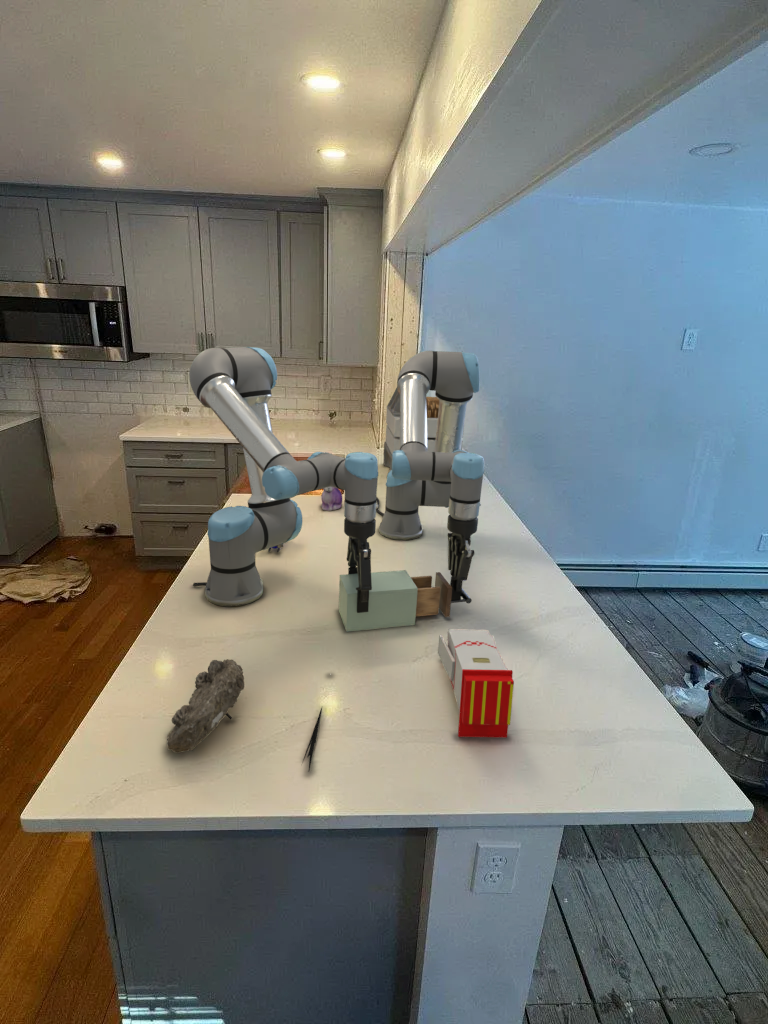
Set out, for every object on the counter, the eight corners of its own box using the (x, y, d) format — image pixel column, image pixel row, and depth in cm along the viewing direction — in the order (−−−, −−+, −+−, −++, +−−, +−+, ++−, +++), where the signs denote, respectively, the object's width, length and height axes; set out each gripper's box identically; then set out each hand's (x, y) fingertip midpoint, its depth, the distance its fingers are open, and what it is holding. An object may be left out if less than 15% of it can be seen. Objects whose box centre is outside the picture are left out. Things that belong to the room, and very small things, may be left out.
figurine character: (283, 559, 179) (290, 536, 192) (282, 538, 176) (289, 516, 189) (262, 558, 179) (270, 535, 192) (261, 537, 175) (269, 515, 189)
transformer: (382, 463, 289) (386, 382, 275) (445, 464, 293) (451, 384, 279) (390, 482, 257) (394, 392, 243) (460, 483, 261) (468, 394, 247)
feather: (331, 679, 122) (336, 673, 122) (307, 777, 96) (313, 769, 95) (324, 675, 122) (329, 669, 121) (298, 772, 95) (304, 764, 95)
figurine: (325, 512, 217) (325, 474, 211) (315, 504, 225) (315, 467, 220) (347, 509, 221) (348, 472, 216) (337, 501, 229) (337, 465, 224)
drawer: (458, 598, 155) (461, 570, 152) (471, 614, 147) (474, 585, 144) (379, 604, 149) (380, 576, 147) (388, 622, 141) (390, 592, 138)
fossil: (192, 660, 117) (244, 628, 112) (224, 691, 120) (276, 661, 115) (142, 746, 98) (202, 712, 93) (182, 779, 101) (242, 748, 96)
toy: (488, 613, 130) (523, 677, 101) (484, 667, 133) (517, 744, 104) (435, 612, 130) (455, 676, 101) (432, 666, 133) (451, 743, 103)
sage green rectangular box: (403, 605, 152) (405, 569, 149) (415, 625, 143) (417, 588, 139) (338, 610, 148) (339, 574, 144) (346, 631, 138) (347, 593, 135)
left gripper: (387, 535, 125) (383, 622, 133) (364, 501, 146) (362, 579, 153) (354, 537, 123) (352, 625, 131) (336, 503, 144) (335, 581, 152)
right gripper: (487, 524, 136) (477, 610, 144) (467, 506, 148) (459, 587, 156) (458, 525, 135) (449, 613, 142) (440, 507, 146) (433, 589, 154)
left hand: (357, 600), depth 142 cm, fingers closed on sage green rectangular box, 10 cm apart
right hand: (454, 599), depth 149 cm, fingers closed
